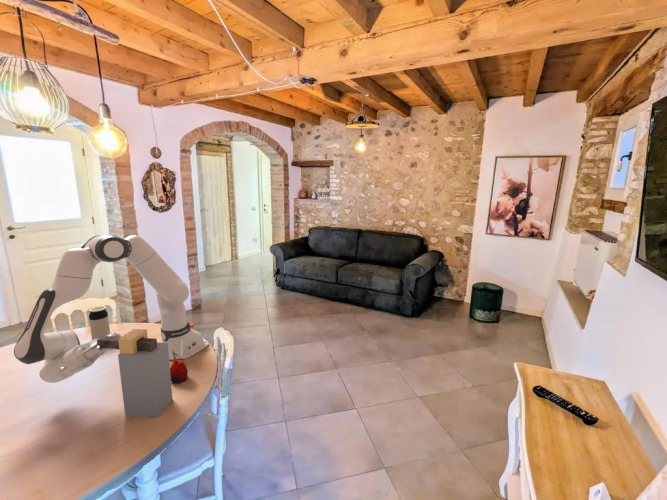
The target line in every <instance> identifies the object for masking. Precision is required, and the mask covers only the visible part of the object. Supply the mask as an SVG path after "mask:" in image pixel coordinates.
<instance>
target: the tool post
mask: <svg viewBox="0 0 667 500" xmlns="http://www.w3.org/2000/svg"><path fill="white" fill-rule="evenodd" d="M140 338H149V337H148V329H144V328H134V329H131V330H130V331H129V332H126V333H125V334H123V335H121V338H119V339H118V342H119V349H118V350H119V354H118V355H117V358H118V366H119V368H118V369H119V376H120V382H121V392H122V399H123V400H122V401H123V408H124V409H123V410H124V416H129V417H131V416H132V417H144V418H145V417H146V418H156V419H158V417H159V416H160V415H161V414H162V412H163V411H164V410H165V409H166V408H167V407H168V405H169V404H171V402H172V401H173V389H172V382H171V376H170V366H171V365H170V360H169V353H168V343H162V342H158V341H157V347H156V348H155V349H153V350H152V351H141V350H137V343H136V341H137V340H139V339H140Z"/></svg>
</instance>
